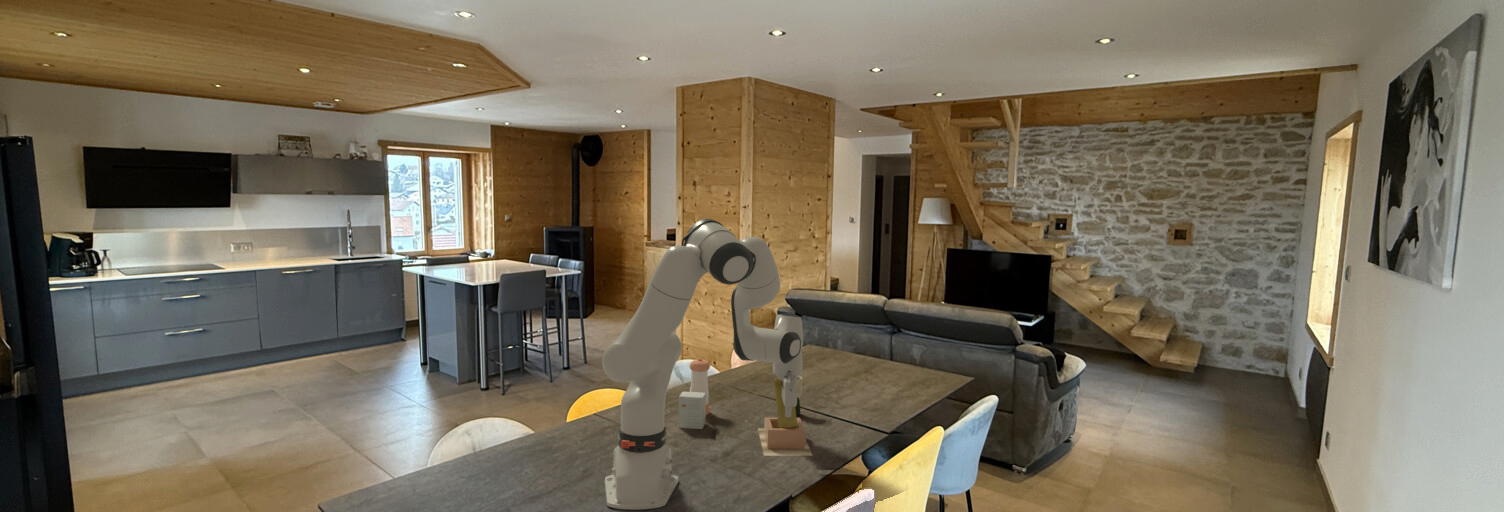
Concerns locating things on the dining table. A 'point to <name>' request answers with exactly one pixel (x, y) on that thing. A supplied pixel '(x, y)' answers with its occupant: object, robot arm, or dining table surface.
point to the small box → (692, 410)
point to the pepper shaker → (700, 378)
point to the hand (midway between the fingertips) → (786, 412)
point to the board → (783, 449)
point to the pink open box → (783, 435)
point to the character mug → (799, 393)
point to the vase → (783, 409)
